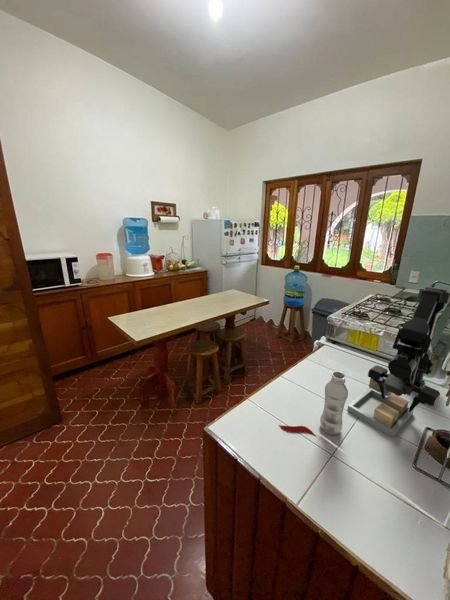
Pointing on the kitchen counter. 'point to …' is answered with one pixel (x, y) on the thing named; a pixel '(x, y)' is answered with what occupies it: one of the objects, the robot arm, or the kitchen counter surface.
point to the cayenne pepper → (297, 429)
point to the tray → (367, 406)
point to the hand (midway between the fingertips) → (396, 404)
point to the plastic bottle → (334, 404)
